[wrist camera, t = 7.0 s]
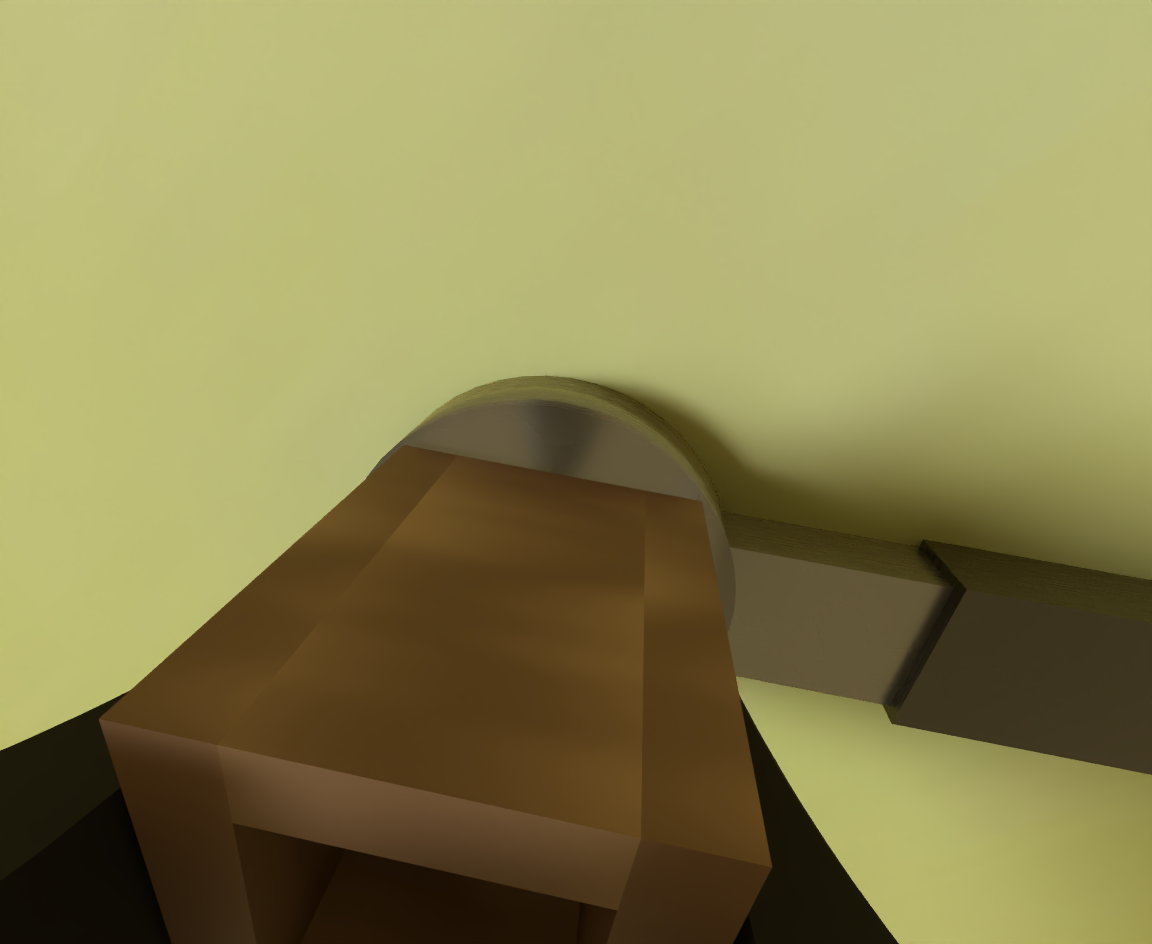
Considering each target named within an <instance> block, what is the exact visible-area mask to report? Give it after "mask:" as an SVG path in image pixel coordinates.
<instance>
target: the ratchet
mask: <svg viewBox="0 0 1152 944" xmlns="http://www.w3.org/2000/svg"><path fill="white" fill-rule="evenodd" d="M404 445H407V446H412V447H417V448H423V449H428V450H433V451H438V452H444V453H449V454H454V455H460V456H465V457H470V458H476V459H481V460H486V461H491V462H497V463H502V464H507V465H513V466H518V467H523V468H529V469H534V470H539V471H544V472H550V473H555V474H560V475H566V476H571V477H576V478H581V479H587V480H592V481H597V482H603V483H608V484H613V485H619V486H624V487H629V488H634V489H640V490H645V491H650V492H656V493H661V494H666V495H672V496H677V497H682V498H687V499H693V500H698V501H702V504H703V509H704V514H705V519H706V525H707V530H708V535H709V540H710V545H711V551H712V556H713V561H714V566H715V572H716V577H717V582H718V587H719V592H720V598H721V603H722V608H723V613H724V618H725V624H726V629H727V634H728V639H729V645H730V650H731V655H732V660H733V665H734V671H735V676H739V677H744V678H750V679H755V680H760V681H765V682H770V683H775V684H780V685H786V686H791V687H796V688H801V689H806V690H811V691H816V692H822V693H827V694H832V695H837V696H842V697H847V698H852V699H857V700H863V701H868V702H873V703H878V704H883V706H884V708H885V710H886V713H887V715H888V717H889V719H890V721H891V723H892V724H896V725H901V726H907V727H912V728H917V729H922V730H927V731H932V732H937V733H942V734H947V735H952V736H957V737H963V738H968V739H973V740H978V741H983V742H988V743H993V744H998V745H1003V746H1008V747H1014V748H1019V749H1024V750H1029V751H1034V752H1039V753H1044V754H1049V755H1054V756H1059V757H1064V758H1070V759H1075V760H1080V761H1085V762H1090V763H1095V764H1100V765H1105V766H1110V767H1115V768H1121V769H1126V770H1131V771H1136V772H1141V773H1146V774H1151V775H1152V580H1146V579H1141V578H1135V577H1129V576H1124V575H1118V574H1113V573H1107V572H1102V571H1096V570H1090V569H1085V568H1079V567H1074V566H1068V565H1063V564H1057V563H1051V562H1046V561H1040V560H1035V559H1029V558H1024V557H1018V556H1012V555H1007V554H1001V553H996V552H990V551H985V550H979V549H973V548H968V547H962V546H957V545H951V544H946V543H940V542H934V541H929V540H923V542H922V544H921V546H920V547H915V546H910V545H904V544H899V543H893V542H888V541H882V540H876V539H871V538H865V537H860V536H854V535H849V534H843V533H838V532H832V531H826V530H821V529H815V528H810V527H804V526H799V525H793V524H788V523H782V522H777V521H771V520H765V519H760V518H754V517H749V516H743V515H738V514H732V513H727V512H721V511H720V507H719V503H718V499H717V495H716V492H715V490H714V488H713V485H712V483H711V480H710V478H709V476H708V473H707V472H706V470H705V468H704V467H703V465H702V463H701V462H700V460H699V458H698V457H697V455H696V454H695V452H694V451H693V450H692V449H691V448H690V446H689V445H688V444H687V443H686V441H685V440H684V439H683V438H682V436H681V435H679V434H678V433H677V432H676V431H675V430H674V429H673V428H672V427H671V426H670V425H669V424H668V423H667V422H666V421H664V420H663V419H662V418H661V417H659V416H658V415H656V414H655V413H653V412H652V411H651V410H649V409H648V408H646V407H645V406H644V405H642V404H640V403H638V402H636V401H634V400H632V399H631V398H629V397H627V396H625V395H623V394H621V393H619V392H616V391H613V390H611V389H608V388H605V387H603V386H600V385H597V384H593V383H589V382H585V381H581V380H576V379H572V378H562V377H553V376H526V377H517V378H510V379H504V380H498V381H495V382H492V383H488V384H485V385H482V386H478V387H475V388H473V389H471V390H469V391H467V392H465V393H463V394H460V395H458V396H456V397H454V398H453V399H451V400H450V401H448V402H447V403H445V404H444V405H442V406H441V407H439V408H438V409H436V410H435V411H434V412H433V413H432V414H431V415H430V416H429V417H427V418H426V419H425V420H424V421H423V422H422V423H421V424H420V425H418V426H417V427H416V428H415V429H414V430H413V431H412V432H410V433H409V434H408V435H407V436H406V437H405V438H404V439H403V440H401V441H400V442H399V443H398V444H397V445H396V446H395V447H394V448H393V449H391V450H390V451H389V452H388V453H387V454H386V455H385V456H384V457H383V458H382V459H381V460H380V461H379V462H378V464H377V465H376V466H375V467H374V469H373V470H372V471H371V472H370V474H369V475H368V476H367V478H368V477H369V476H370V475H371V474H372V473H373V472H375V471H376V470H377V469H378V468H379V467H380V466H381V465H382V464H384V463H385V462H386V461H387V460H388V459H389V458H390V457H391V456H392V455H394V454H395V453H396V452H397V451H398V450H399V449H400V448H401V447H402V446H404ZM367 478H366V479H367Z"/></svg>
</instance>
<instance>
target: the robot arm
mask: <svg viewBox="0 0 1152 944" xmlns="http://www.w3.org/2000/svg"><path fill="white" fill-rule="evenodd" d="M128 692H129V691H128ZM128 692H126V693H124V694H122V695H120V696H118V697H116V698H114V699H112V700H110V701H108V702H106V703H104V704H102V705H100V706H98V707H96V708H94V709H92V710H89V711H87V712H85V713H83V714H81V715H79V716H77V717H75V718H72V719H70V720H68V721H66V722H64V723H61V724H59V725H57V726H55V727H53V728H51V729H48V730H46V731H44V732H42V733H40V734H37V735H35V736H33V737H31V738H29V739H26V740H24V741H22V742H20V743H17V744H15V745H13V746H10V747H8V748H6V749H3V750H1V751H0V944H171V941H170V937H169V934H168V931H167V928H166V925H165V922H164V919H163V916H162V913H161V910H160V907H159V904H158V900H157V897H156V894H155V891H154V888H153V885H152V882H151V879H150V876H149V873H148V870H147V867H146V863H145V860H144V857H143V854H142V851H141V848H140V845H139V842H138V839H137V836H136V833H135V830H134V827H133V823H132V820H131V817H130V814H129V811H128V808H127V805H126V802H125V799H124V796H123V793H122V790H121V786H120V783H119V780H118V777H117V774H116V771H115V768H114V765H113V762H112V759H111V756H110V753H109V749H108V746H107V743H106V740H105V737H104V734H103V731H102V728H101V725H100V722H99V718H100V717H101V716H102V715H104V714H105V713H106V712H107V711H108V710H109V709H110V708H111V707H113V706H114V705H115V704H116V703H117V702H118V701H119V700H120V699H121V698H123V697H124V696H125V695H126V694H127V693H128ZM739 697H740V695H739ZM740 702H741V707H742V712H743V718H744V723H745V728H746V733H747V738H748V744H749V749H750V754H751V759H752V764H753V770H754V775H755V780H756V785H757V790H758V796H759V801H760V806H761V811H762V817H763V822H764V827H765V832H766V837H767V843H768V848H769V853H770V858H771V863H772V869H771V871H770V873H769V874H768V876H767V878H766V880H765V882H764V884H763V886H762V888H761V890H760V892H759V894H758V896H757V898H756V900H755V902H754V904H753V905H752V907H751V909H750V911H749V913H748V915H747V917H746V919H745V921H744V923H743V925H742V927H741V929H740V931H739V933H738V935H737V936H736V938H735V940H734V942H733V944H899V943H898V942H897V941H896V939H895V938H894V937H893V935H892V934H891V933H890V932H889V930H888V929H887V928H886V926H885V925H884V923H883V922H882V921H881V919H880V918H879V917H878V915H877V914H876V912H875V911H874V910H873V908H872V907H871V906H870V904H869V903H868V901H867V900H866V899H865V897H864V896H863V895H862V893H861V892H860V890H859V889H858V888H857V886H856V885H855V883H854V882H853V881H852V879H851V878H850V876H849V875H848V873H847V872H846V871H845V869H844V868H843V866H842V865H841V863H840V862H839V860H838V859H837V857H836V856H835V854H834V853H833V851H832V850H831V848H830V847H829V845H828V844H827V843H826V841H825V839H824V838H823V836H822V835H821V833H820V832H819V830H818V829H817V827H816V825H815V824H814V822H813V821H812V819H811V818H810V816H809V815H808V813H807V812H806V810H805V808H804V807H803V805H802V804H801V802H800V800H799V799H798V797H797V796H796V794H795V792H794V791H793V789H792V787H791V786H790V784H789V783H788V781H787V779H786V777H785V776H784V774H783V772H782V771H781V769H780V767H779V765H778V764H777V762H776V760H775V759H774V757H773V755H772V753H771V752H770V750H769V748H768V747H767V745H766V743H765V741H764V740H763V738H762V736H761V734H760V733H759V731H758V729H757V727H756V725H755V724H754V722H753V720H752V718H751V716H750V714H749V712H748V710H747V709H746V707H745V705H744V703H743V701H742V699H741V697H740Z"/></svg>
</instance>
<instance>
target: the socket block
mask: <svg viewBox="0 0 1152 944" xmlns="http://www.w3.org/2000/svg"><path fill="white" fill-rule="evenodd" d="M99 722H100V725H101V728H102V731H103V734H104V737H105V740H106V743H107V746H108V749H109V753H110V756H111V759H112V762H113V765H114V768H115V771H116V774H117V777H118V780H119V783H120V786H121V790H122V793H123V796H124V799H125V802H126V805H127V808H128V811H129V814H130V817H131V820H132V823H133V827H134V830H135V833H136V836H137V839H138V842H139V845H140V848H141V851H142V854H143V857H144V860H145V863H146V867H147V870H148V873H149V876H150V879H151V882H152V885H153V888H154V891H155V894H156V897H157V900H158V904H159V907H160V910H161V913H162V916H163V919H164V922H165V925H166V928H167V931H168V934H169V937H170V941H171V944H733V942H734V940H735V938H736V936H737V935H738V933H739V931H740V929H741V927H742V925H743V923H744V921H745V919H746V917H747V915H748V913H749V911H750V909H751V907H752V905H753V904H754V902H755V900H756V898H757V896H758V894H759V892H760V890H761V888H762V886H763V884H764V882H765V880H766V878H767V876H768V874H769V873H770V871H771V869H772V863H771V858H770V853H769V848H768V843H767V837H766V832H765V827H764V822H763V817H762V811H761V806H760V801H759V796H758V790H757V785H756V780H755V775H754V770H753V764H752V759H751V754H750V749H749V744H748V738H747V733H746V728H745V723H744V718H743V712H742V707H741V702H740V697H739V691H738V686H737V681H736V676H735V671H734V665H733V660H732V655H731V650H730V645H729V639H728V634H727V629H726V624H725V618H724V613H723V608H722V603H721V598H720V592H719V587H718V582H717V577H716V572H715V566H714V561H713V556H712V551H711V545H710V540H709V535H708V530H707V525H706V519H705V514H704V509H703V504H702V501H698V500H693V499H687V498H682V497H677V496H672V495H666V494H661V493H656V492H650V491H645V490H640V489H634V488H629V487H624V486H619V485H613V484H608V483H603V482H597V481H592V480H587V479H581V478H576V477H571V476H566V475H560V474H555V473H550V472H544V471H539V470H534V469H529V468H523V467H518V466H513V465H507V464H502V463H497V462H491V461H486V460H481V459H476V458H470V457H465V456H460V455H454V454H449V453H444V452H438V451H433V450H428V449H423V448H417V447H412V446H407V445H404V446H402V447H401V448H400V449H399V450H398V451H397V452H396V453H395V454H394V455H392V456H391V457H390V458H389V459H388V460H387V461H386V462H385V463H384V464H382V465H381V466H380V467H379V468H378V469H377V470H376V471H375V472H373V473H372V474H371V475H370V476H369V477H368V478H367V479H366V480H365V481H363V482H362V483H361V484H360V485H359V486H358V487H357V488H356V489H355V490H353V491H352V492H351V493H350V494H349V495H348V496H347V497H346V498H344V499H343V500H342V501H341V502H340V503H339V504H338V505H337V506H336V507H334V508H333V509H332V510H331V511H330V512H329V513H328V514H327V515H326V516H324V517H323V518H322V519H321V520H320V521H319V522H318V523H317V524H315V525H314V526H313V527H312V528H311V529H310V530H309V531H308V532H307V533H305V534H304V535H303V536H302V537H301V538H300V539H299V540H298V541H297V542H295V543H294V544H293V545H292V546H291V547H290V548H289V549H288V550H286V551H285V552H284V553H283V554H282V555H281V556H280V557H279V558H278V559H276V560H275V561H274V562H273V563H272V564H271V565H270V566H269V567H268V568H266V569H265V570H264V571H263V572H262V573H261V574H260V575H259V576H257V577H256V578H255V579H254V580H253V581H252V582H251V583H250V584H249V585H247V586H246V587H245V588H244V589H243V590H242V591H241V592H240V593H239V594H237V595H236V596H235V597H234V598H233V599H232V600H231V601H230V602H228V603H227V604H226V605H225V606H224V607H223V608H222V609H221V610H220V611H218V612H217V613H216V614H215V615H214V616H213V617H212V618H211V619H210V620H208V621H207V622H206V623H205V624H204V625H203V626H202V627H201V628H199V629H198V630H197V631H196V632H195V633H194V634H193V635H192V636H191V637H189V638H188V639H187V640H186V641H185V642H184V643H183V644H182V645H181V646H179V647H178V648H177V649H176V650H175V651H174V652H173V653H172V654H170V655H169V656H168V657H167V658H166V659H165V660H164V661H163V662H162V663H160V664H159V665H158V666H157V667H156V668H155V669H154V670H153V671H152V672H150V673H149V674H148V675H147V676H146V677H145V678H144V679H143V680H141V681H140V682H139V683H138V684H137V685H136V686H135V687H134V688H133V689H131V690H130V691H129V692H128V693H127V694H126V695H125V696H124V697H123V698H121V699H120V700H119V701H118V702H117V703H116V704H115V705H114V706H113V707H111V708H110V709H109V710H108V711H107V712H106V713H105V714H104V715H102V716H101V717H100V718H99Z"/></svg>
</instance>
